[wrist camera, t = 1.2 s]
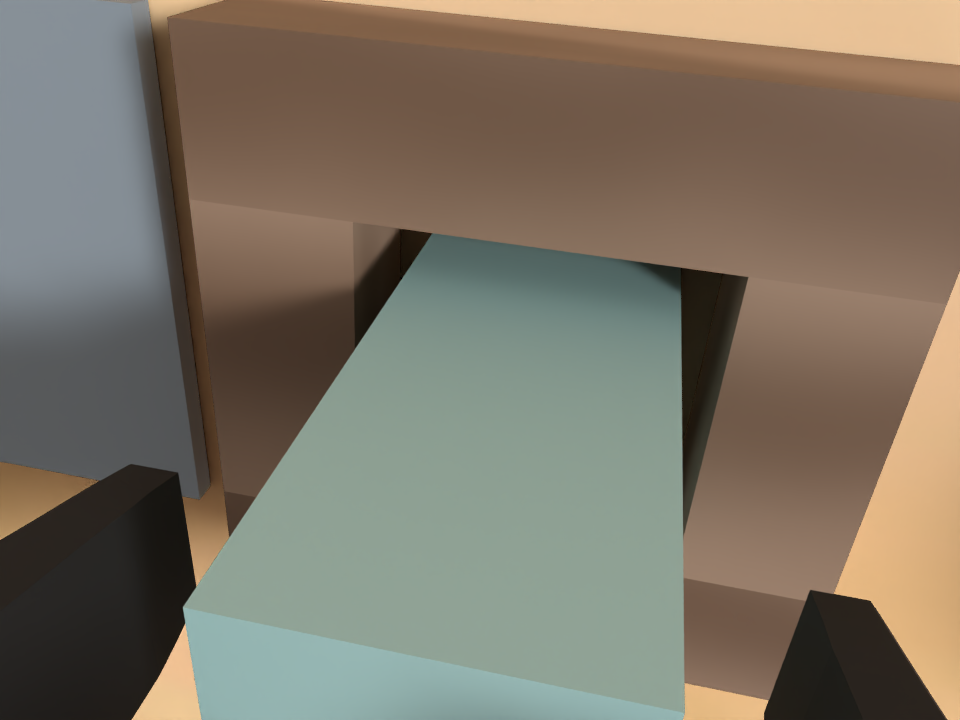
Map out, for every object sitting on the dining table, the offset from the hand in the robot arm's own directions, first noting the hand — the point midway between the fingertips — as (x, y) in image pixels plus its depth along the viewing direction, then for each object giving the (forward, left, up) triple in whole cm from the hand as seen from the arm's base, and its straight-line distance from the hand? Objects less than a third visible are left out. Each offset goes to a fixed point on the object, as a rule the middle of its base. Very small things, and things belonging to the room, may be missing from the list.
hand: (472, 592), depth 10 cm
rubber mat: (0, +12, -6) cm, 14 cm away
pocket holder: (0, 0, -6) cm, 6 cm away
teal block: (0, 0, -6) cm, 6 cm away
